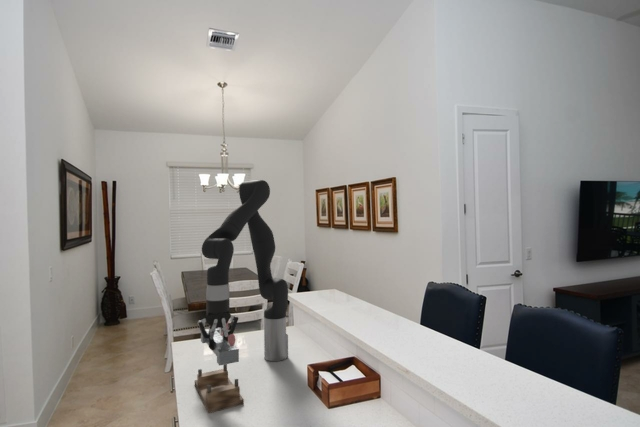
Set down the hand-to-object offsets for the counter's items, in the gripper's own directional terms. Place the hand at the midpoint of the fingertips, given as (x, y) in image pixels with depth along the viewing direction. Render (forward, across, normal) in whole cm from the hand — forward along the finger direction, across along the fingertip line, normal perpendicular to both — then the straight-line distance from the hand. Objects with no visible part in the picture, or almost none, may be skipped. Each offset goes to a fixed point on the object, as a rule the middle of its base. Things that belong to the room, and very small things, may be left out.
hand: (218, 348), depth 127 cm
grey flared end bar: (+1, 0, 0) cm, 1 cm away
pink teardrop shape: (+15, -14, -41) cm, 46 cm away
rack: (+15, 0, 0) cm, 15 cm away
